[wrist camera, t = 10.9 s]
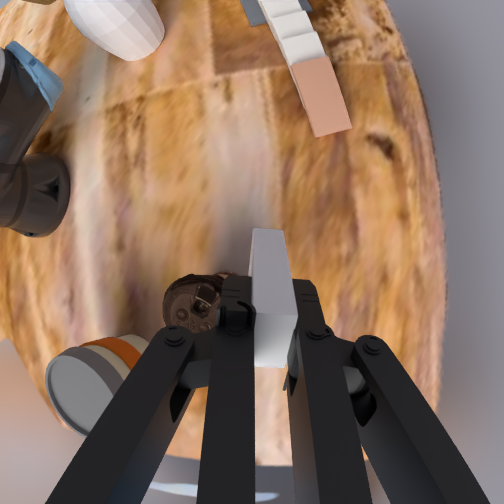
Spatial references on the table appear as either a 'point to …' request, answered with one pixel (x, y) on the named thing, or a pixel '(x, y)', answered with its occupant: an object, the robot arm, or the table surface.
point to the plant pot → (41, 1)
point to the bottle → (119, 25)
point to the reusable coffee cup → (90, 378)
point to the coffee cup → (194, 301)
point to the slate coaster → (257, 15)
